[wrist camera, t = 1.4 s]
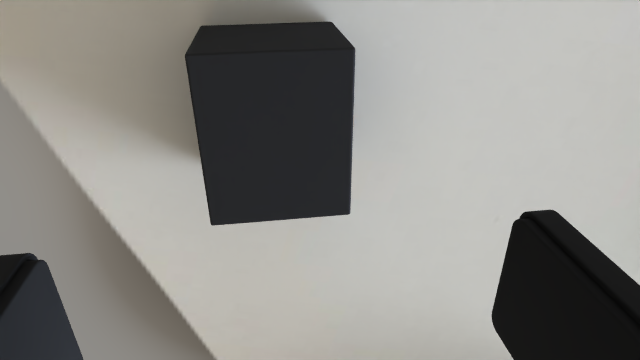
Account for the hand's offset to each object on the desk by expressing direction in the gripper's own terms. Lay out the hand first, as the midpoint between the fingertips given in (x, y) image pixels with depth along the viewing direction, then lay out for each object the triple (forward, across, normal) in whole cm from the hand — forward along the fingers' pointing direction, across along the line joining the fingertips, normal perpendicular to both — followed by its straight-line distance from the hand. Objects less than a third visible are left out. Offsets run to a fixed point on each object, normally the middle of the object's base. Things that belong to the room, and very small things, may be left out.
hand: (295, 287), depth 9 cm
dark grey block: (+11, 0, -1) cm, 11 cm away
